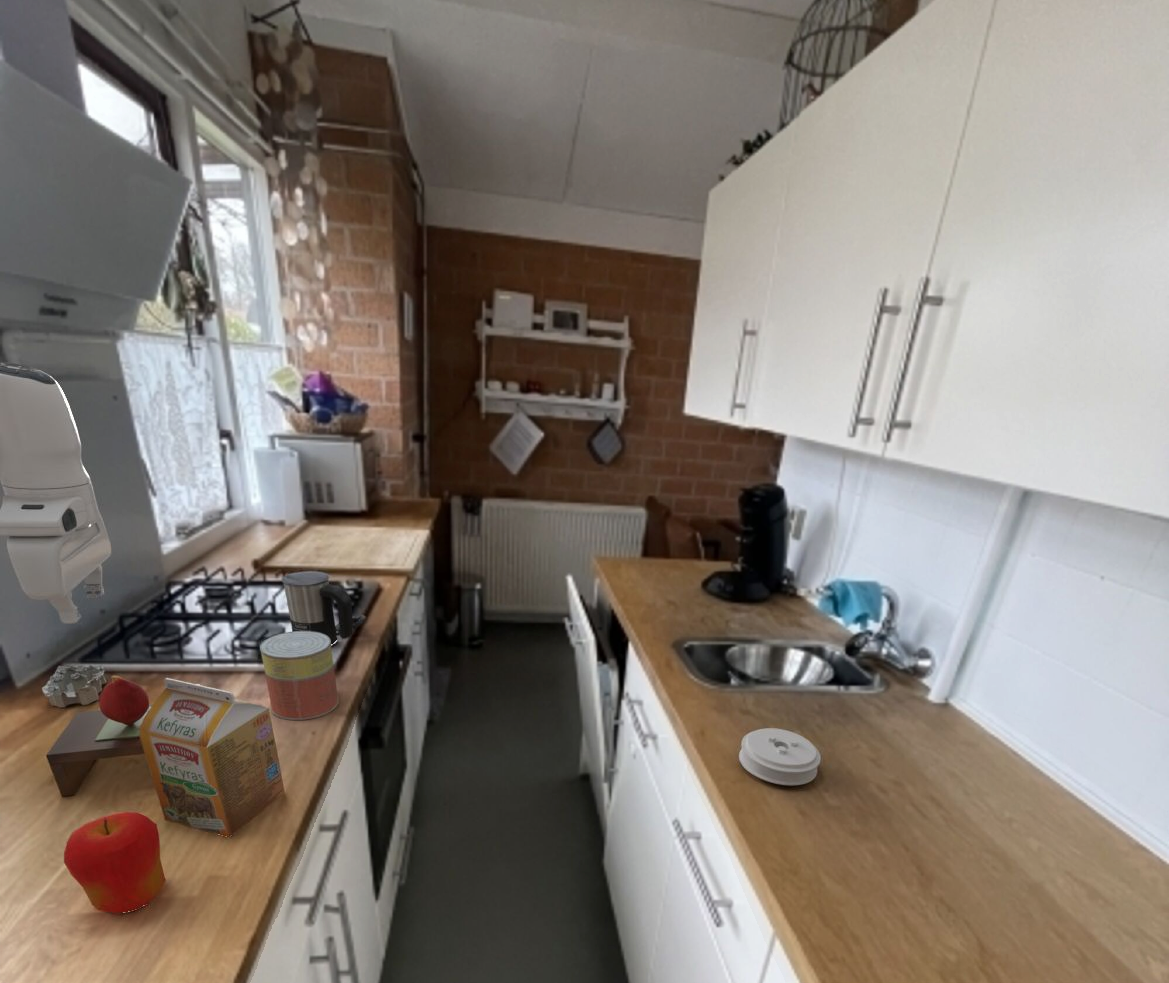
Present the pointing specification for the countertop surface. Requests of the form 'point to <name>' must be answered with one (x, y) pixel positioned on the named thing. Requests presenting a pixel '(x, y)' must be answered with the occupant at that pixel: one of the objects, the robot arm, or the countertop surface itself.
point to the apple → (117, 861)
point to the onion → (123, 701)
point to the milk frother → (319, 605)
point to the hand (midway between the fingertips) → (84, 608)
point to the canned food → (300, 674)
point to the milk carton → (210, 757)
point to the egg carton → (74, 685)
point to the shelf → (90, 747)
